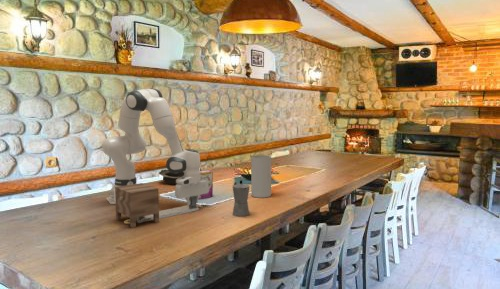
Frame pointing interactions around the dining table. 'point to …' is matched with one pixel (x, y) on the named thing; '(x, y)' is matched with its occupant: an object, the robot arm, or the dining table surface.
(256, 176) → the cylinder vase
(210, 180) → the candy bar box
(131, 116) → the robot arm
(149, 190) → the walnut cabinet
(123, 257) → the dining table surface
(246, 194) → the coffeepot
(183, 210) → the grey long bar
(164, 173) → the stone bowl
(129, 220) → the brass token
